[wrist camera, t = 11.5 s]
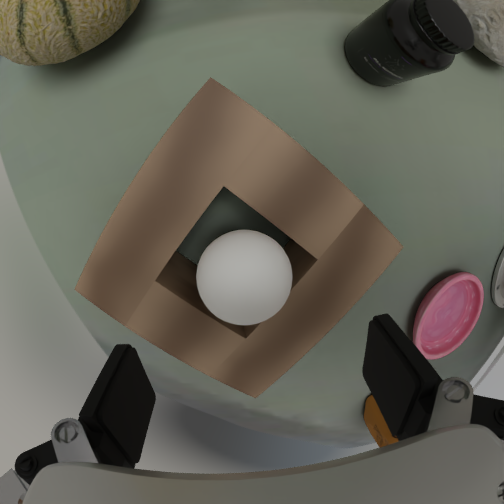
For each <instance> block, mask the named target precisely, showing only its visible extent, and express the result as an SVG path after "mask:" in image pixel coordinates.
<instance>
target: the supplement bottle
mask: <svg viewBox="0 0 504 504" xmlns="http://www.w3.org/2000/svg"><path fill="white" fill-rule="evenodd" d="M474 40H475V39H474V33H473V29H472V25H471V23H470V21H469V19H468V18H467V16H466V14H465V13H464V12H463V10H462V9H461V8H460V7H459V6H458V4H456V3H455V2H454V1H453V0H389V1H388V2H386V3H385V4H384V5H382V6H381V7H380V8H379V9H377V10H376V11H375V12H374V13H372V14H371V15H370V16H369V17H367V18H366V19H365V20H364V21H362V22H361V23H360V24H359V25H358V26H357V27H355V28H354V29H353V30H352V31H351V32H350V33H349V35H348V36H347V39H346V43H345V50H346V55H347V58H348V60H349V62H350V64H351V66H352V67H353V68H354V70H355V71H356V72H357V73H358V74H359V75H360V76H361V77H362V78H364V79H365V80H367V81H369V82H370V83H373V84H375V85H379V86H391V85H395V84H399V83H402V82H405V81H408V80H412V79H415V78H418V77H422V76H425V75H429V74H433V73H436V72H440V71H443V70H445V69H447V68H448V67H449V66H450V65H451V64H452V62H453V60H454V58H455V54H458V53H460V52H462V51H466V50H469V49H470V48H471V47H473V44H474Z"/></svg>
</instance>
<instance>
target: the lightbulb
mask: <svg viewBox="0 0 504 504" xmlns="http://www.w3.org/2000/svg"><path fill="white" fill-rule="evenodd" d="M196 280H197V288H198V291H199V294H200V297H201V299H202V301H203V302H204V304H205V306H206V307H207V308H208V309H209V310H210V312H211V313H213V314H214V315H215V316H216V317H218V318H220V319H222V320H223V321H226V322H229V323H232V324H236V325H253V324H258V323H260V322H263V321H265V320H267V319H269V318H271V317H272V316H274V315H275V314H276V313H277V312H278V311H279V310H280V309H281V308H282V307H283V305H284V304H285V302H286V300H287V298H288V296H289V294H290V290H291V287H292V268H291V264H290V261H289V258H288V256H287V254H286V253H285V251H284V250H283V248H282V247H281V246H280V245H279V244H278V243H277V242H276V241H275V240H274V239H272V238H271V237H269V236H268V235H265V234H263V233H260V232H258V231H253V230H236V231H231V232H228V233H226V234H223V235H221V236H220V237H218V238H217V239H215V240H214V241H213V242H212V243H211V244H210V245H209V246H208V247H207V248H206V249H205V251H204V252H203V254H202V255H201V258H200V261H199V263H198V266H197V273H196Z"/></svg>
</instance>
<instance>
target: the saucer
mask: <svg viewBox="0 0 504 504" xmlns="http://www.w3.org/2000/svg"><path fill="white" fill-rule="evenodd" d="M483 299H484V292H483V286H482V283H481V281H480V280H479V279H478V278H477V277H476V276H475V275H473V274H471V273H468V272H459V273H456V274H453V275H451V276H449V277H447V278H445V279H443V280H442V281H440V282H438V283H437V284H436V285H434V286H433V287H432V288H431V289H430V290H429V292H428V293H427V294H426V295H425V297H424V298H423V300H422V302H421V304H420V305H419V308H418V310H417V313H416V317H415V322H414V327H413V343H414V344H415V346H416V347H417V348H418V349H419V351H420V352H421V353H422V354H423V356H424V357H425V358H426V359H438V358H441V357H444V356H446V355H448V354H449V353H451V352H452V351H454V350H455V349H456V348H457V347H459V346H460V345H461V344H462V343H463V342H464V341H465V339H466V338H467V337H468V336H469V334H470V333H471V331H472V330H473V328H474V327H475V325H476V323H477V321H478V318H479V316H480V313H481V310H482V306H483Z"/></svg>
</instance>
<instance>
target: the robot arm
mask: <svg viewBox="0 0 504 504" xmlns="http://www.w3.org/2000/svg"><path fill="white" fill-rule="evenodd" d="M491 292H492V299H493V302H494V303H495V304H496V305H497V306H498V307H500V308H504V249H503V251H502V253H501V255H500V257H499V260H498V262H497V265H496V268H495V271H494V276H493V281H492V290H491ZM363 377H364V379H365V381H366V383H367V385H368V387H369V389H370V391H371V393H372V395H373V397H374V399H375V401H376V403H377V405H378V407H379V409H380V411H381V413H382V416H383V418H384V420H385V422H386V424H387V426H388V428H389V430H390V432H391V434H392V436H397V439H398V441H399V442H396V443H393V444H390V445H387V446H384V447H380V448H377V449H374V450H370V451H367V452H363V453H360V454H357V455H353V456H348V457H344V458H340V459H336V460H332V461H327V462H322V463H317V464H312V465H306V466H300V467H294V468H288V469H280V470H271V471H261V472H249V473H228V474H193V473H171V472H160V471H150V470H141V469H134V467H135V463H138V462H139V460H140V457H141V453H142V448H143V445H144V441H145V437H146V433H147V430H148V426H149V422H150V418H151V415H152V411H153V408H154V404H155V400H156V398H155V397H156V396H155V392H154V390H153V388H152V386H151V384H150V381H149V379H148V377H147V375H146V372H145V370H144V368H143V366H142V363H141V361H140V358H139V356H138V354H137V351H136V349H135V348H132V346H131V345H129V344H117V345H116V346H115V347H114V349H113V351H112V353H111V354H110V356H109V358H108V360H107V362H106V363H105V365H104V367H103V369H102V371H101V373H100V374H99V376H98V378H97V380H96V382H95V384H94V386H93V388H92V390H91V392H90V394H89V395H88V397H87V399H86V402H85V403H84V406H83V407H82V410H81V411H80V413H79V416H80V417H79V419H78V420H76V419H73V418H66V419H62V420H61V421H59V422H57V423H56V424H55V426H54V427H53V429H52V432H51V438H52V440H50V441H47V442H45V443H43V444H41V445H39V446H37V447H34V448H32V449H30V450H28V451H25V452H23V453H22V454H20V455H19V456H18V458H17V459H16V462H15V470H13V469H10V470H9V471H8V472H7V473H5V474H4V475H3V476H2V477H1V478H0V504H504V401H503V400H498V399H493V398H488V397H483V396H478V395H474V394H473V388H472V386H471V385H470V383H469V382H468V381H466V380H464V379H462V378H459V377H451V378H447V379H445V380H442V379H441V377H440V376H439V375H438V373H437V372H436V371H435V370H434V368H433V367H432V366H431V364H430V363H429V362H428V361H427V359H426V358H425V357H424V356H423V354H422V353H421V352H420V351H419V349H418V348H417V347H416V346H415V344H414V343H413V342H412V341H410V339H409V338H408V337H407V336H406V335H405V333H404V332H403V331H402V330H401V329H400V327H399V326H398V325H397V324H396V323H395V321H394V320H393V319H392V318H391V317H390V315H389V314H382V315H378V316H374V317H373V320H371V321H370V322H369V328H368V336H367V343H366V351H365V357H364V364H363Z"/></svg>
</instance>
